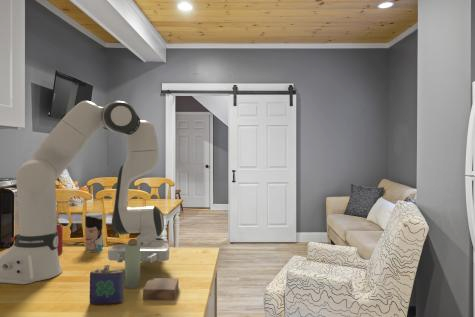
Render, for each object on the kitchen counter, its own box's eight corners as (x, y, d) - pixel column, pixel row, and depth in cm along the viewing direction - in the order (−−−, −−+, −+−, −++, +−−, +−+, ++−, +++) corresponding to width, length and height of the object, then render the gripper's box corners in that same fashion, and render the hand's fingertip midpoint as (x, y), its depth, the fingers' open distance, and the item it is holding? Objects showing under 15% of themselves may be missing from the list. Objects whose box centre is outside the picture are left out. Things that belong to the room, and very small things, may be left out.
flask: (124, 300, 106) (124, 263, 105) (122, 304, 103) (122, 266, 102) (91, 301, 105) (90, 263, 104) (87, 305, 102) (87, 267, 101)
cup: (84, 248, 157) (84, 213, 156) (101, 246, 160) (101, 212, 159) (86, 252, 151) (85, 216, 150) (103, 250, 154) (103, 214, 153)
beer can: (55, 256, 145) (55, 226, 145) (40, 255, 146) (40, 225, 146) (66, 251, 152) (66, 222, 151) (51, 250, 153) (51, 221, 152)
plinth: (142, 299, 106) (142, 289, 106) (149, 287, 115) (149, 278, 115) (174, 299, 106) (174, 289, 106) (178, 287, 115) (178, 278, 115)
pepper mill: (123, 288, 114) (123, 240, 113) (127, 283, 119) (127, 236, 118) (138, 288, 114) (138, 240, 114) (141, 283, 119) (141, 236, 118)
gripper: (114, 239, 132) (101, 250, 118) (172, 239, 132) (166, 250, 119) (114, 256, 132) (101, 269, 118) (172, 257, 133) (165, 270, 119)
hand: (134, 260), depth 118 cm, fingers open, 8 cm apart
